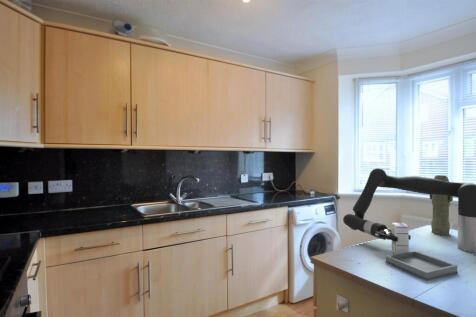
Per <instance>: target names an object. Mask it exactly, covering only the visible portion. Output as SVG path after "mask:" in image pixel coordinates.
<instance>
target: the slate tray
mask: <svg viewBox="0 0 476 317" xmlns="http://www.w3.org/2000/svg"><path fill="white" fill-rule="evenodd" d="M385 263H387V265H388V264H389V265H391V266H393V267H395V268H397V269H399V270H402V271H404V272H406V273H409V274H411V275H412V276H413V275H414V276H416V277H417V278H420V279H422V280H425V281H430V280H434V279H439V278H443V277H447V276H451V275H454V274H458V265H457V264H454V263H451V262H448V261H445V260H442V259H440V258H437V257H434V256H431V255H429V254H427V253H426V254H425V253H422V252H420V251H417V250H410V251H409V252H403V253H398V254H394V253H392V254H388V255H385Z"/></svg>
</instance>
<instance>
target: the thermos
mask: <svg viewBox="0 0 476 317" xmlns="http://www.w3.org/2000/svg"><path fill="white" fill-rule="evenodd" d="M433 179H438V180H442V181H447V182H450V180H449V178H448V176H447V175H441V174H440V175H434V178H433ZM429 200H431V204H432V219H431V223H430V224H431V226H430V227H431V233H432V234H434V235H437V236H438V235H439V236H450V231H451V223H450V215H449V214H450V206H451V202H453V201H454V197H453V196H448V195H432V194H429Z"/></svg>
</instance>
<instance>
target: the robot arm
mask: <svg viewBox="0 0 476 317" xmlns="http://www.w3.org/2000/svg"><path fill="white" fill-rule="evenodd" d="M378 188H386V189H394V190H395V189H397V190H401V191H406V192H407V191H408V192H412V193H418V194H423V195H430V194H432V195H448V196H453V198H454V197H455V198H457V202H458V203H457V248H458V249H459V250H461V251H464V252H467V253H468V252H469V253H473V254H474V253H475V254H476V184H475V183H471V182H469V183H468V182H453V181H449V182H447V181H442V180H438V179H434V178H433V177H426V176H418V175H408V176H393V175H389V174H387V173H386V171H385V170H384V169H383V168H379V167H378V168H377V167H376V168H373V169H372V170H371V171H370V173H369V176H368V178H367V180H366V183H365V186H364V188H363V190H362V192H360V193H361V194H360V196H358V199H357V200H356V202H355V204H354V205H353V207H352V212H354V213H353V214H352V213H347V214H345V215H344V216H343V218H342V221H343V223H344V224H345V225H346V226H347V227H349V229H351V230H353V231H357V230H358V231H359V232H361V233H363V234H364V233H365V234H367V235H369V236H372V237H374V238H377V239H380V240H383V241H386V240H388V241H391V242H392V241H395V242H397V241H398V237H396V236H393V235H392V228H388V227H387V225H386V224H383V223H380V222H376V221H372V220H368V219H364V218H365V214H366V212H367V211H368V209H369V207H370V205H371V203H372V201H373V197H374V195H375V192H376V190H377V189H378ZM411 238H412V237H411V235H410V234H409V241H410V240H411Z"/></svg>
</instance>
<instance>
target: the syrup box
mask: <svg viewBox="0 0 476 317" xmlns="http://www.w3.org/2000/svg"><path fill="white" fill-rule="evenodd" d="M391 229H392V235H393V236H396V237H398V241H397V242H395V241H392V240H391V252H392V254H398V253H403V252H409V250H410V248H409V245H410V244H409V243H410V240H409V235H410V234H409V225H407V224H406V223H404V222H391Z"/></svg>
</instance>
